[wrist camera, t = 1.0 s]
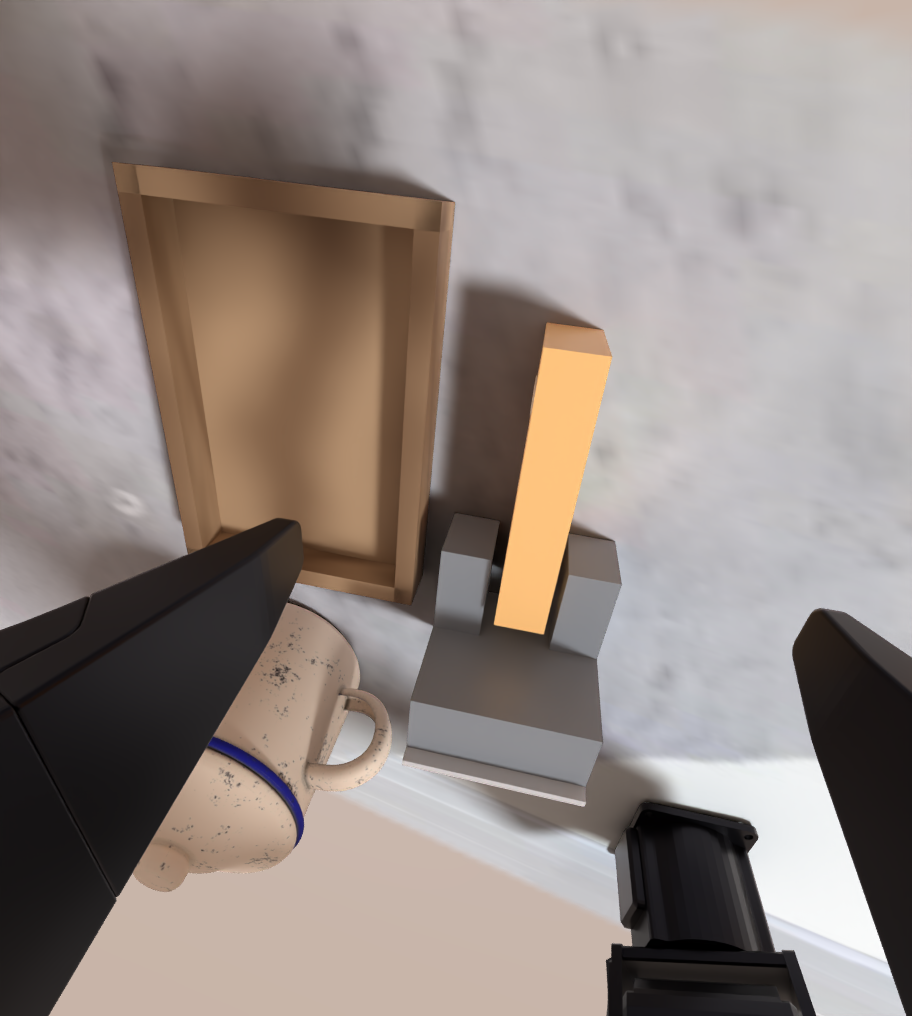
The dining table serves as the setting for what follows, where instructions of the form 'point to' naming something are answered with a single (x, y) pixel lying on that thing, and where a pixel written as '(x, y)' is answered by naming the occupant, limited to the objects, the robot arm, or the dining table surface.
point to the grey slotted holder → (513, 672)
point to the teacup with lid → (269, 758)
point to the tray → (295, 362)
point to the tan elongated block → (551, 471)
